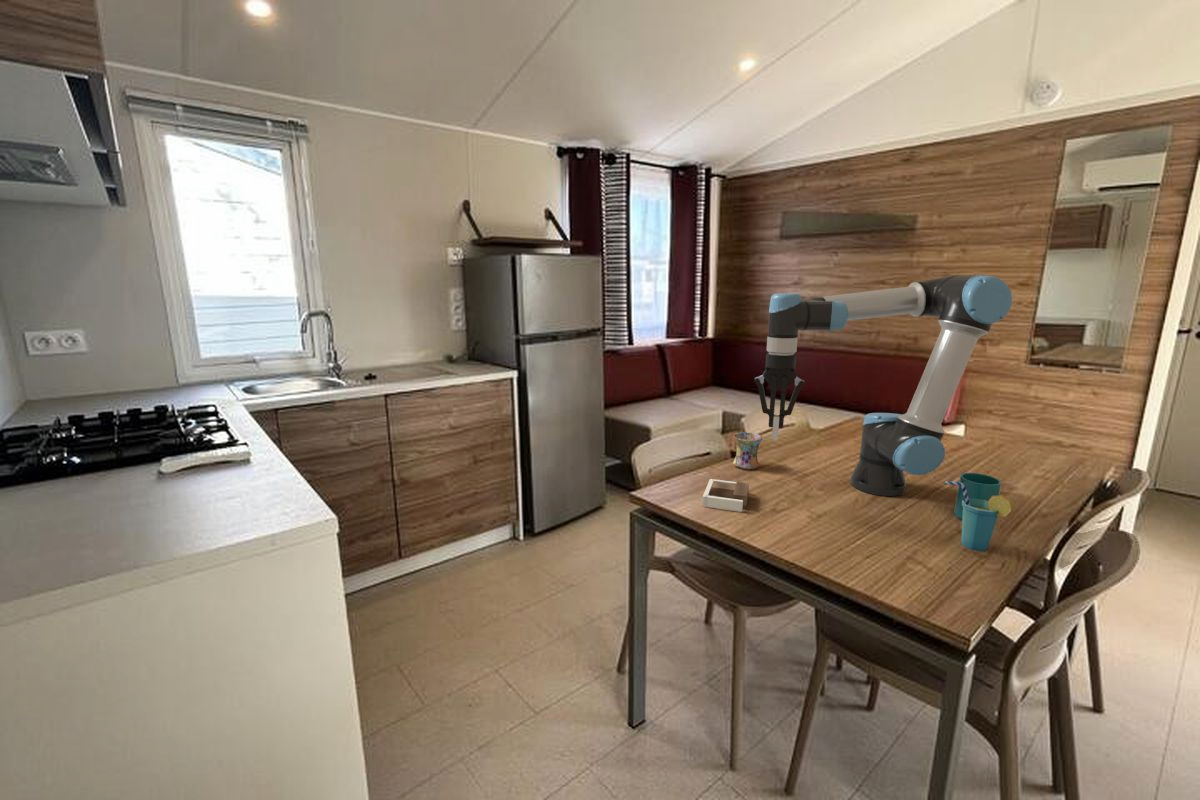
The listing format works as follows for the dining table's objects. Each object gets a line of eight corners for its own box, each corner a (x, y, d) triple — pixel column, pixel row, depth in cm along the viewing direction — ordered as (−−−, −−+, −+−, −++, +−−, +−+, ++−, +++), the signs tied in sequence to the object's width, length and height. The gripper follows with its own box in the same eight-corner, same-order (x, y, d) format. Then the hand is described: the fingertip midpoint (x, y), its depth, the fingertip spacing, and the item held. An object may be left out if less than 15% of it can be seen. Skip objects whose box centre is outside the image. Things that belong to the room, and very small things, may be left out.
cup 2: (932, 540, 133) (941, 482, 130) (940, 530, 139) (949, 474, 135) (1002, 561, 124) (1014, 499, 120) (1007, 548, 129) (1019, 489, 126)
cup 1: (999, 514, 148) (1006, 475, 145) (990, 529, 139) (998, 487, 137) (960, 505, 154) (966, 467, 151) (950, 518, 146) (956, 478, 143)
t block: (748, 496, 159) (749, 483, 158) (745, 509, 150) (746, 496, 149) (713, 491, 162) (714, 478, 161) (708, 504, 153) (709, 491, 152)
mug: (764, 471, 179) (766, 440, 177) (736, 471, 179) (738, 440, 176) (752, 459, 191) (754, 430, 189) (726, 459, 191) (727, 430, 188)
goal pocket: (746, 492, 161) (746, 483, 161) (741, 512, 148) (742, 501, 147) (709, 488, 165) (710, 478, 164) (702, 506, 152) (702, 496, 151)
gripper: (807, 352, 145) (800, 437, 150) (756, 350, 149) (751, 433, 154) (808, 356, 138) (800, 445, 143) (754, 353, 142) (749, 440, 147)
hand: (774, 438), depth 149 cm, fingers closed
